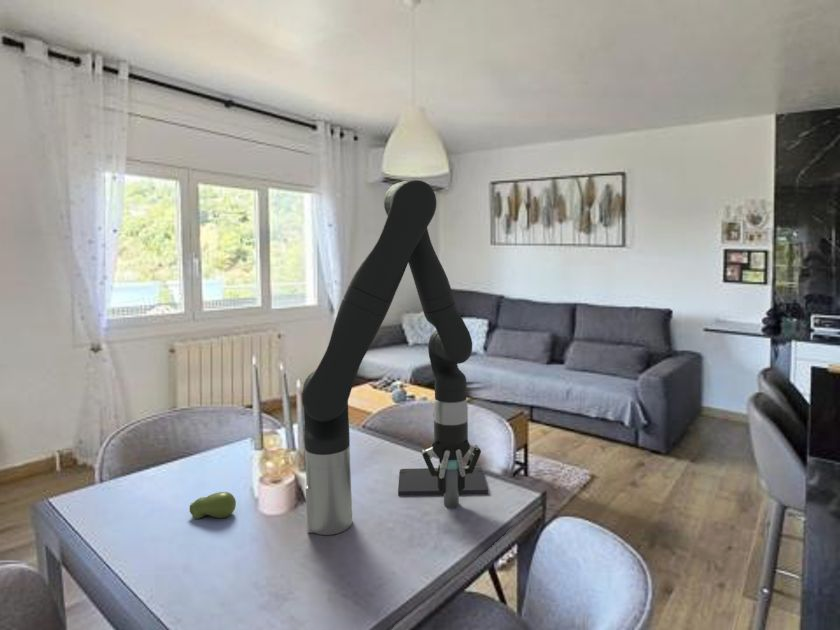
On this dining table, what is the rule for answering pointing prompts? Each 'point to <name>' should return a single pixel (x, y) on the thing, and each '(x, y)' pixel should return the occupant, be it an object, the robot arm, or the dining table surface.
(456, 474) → the marker
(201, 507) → the pear
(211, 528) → the dining table surface
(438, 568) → the dining table surface
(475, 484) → the notebook
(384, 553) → the dining table surface
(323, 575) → the dining table surface
